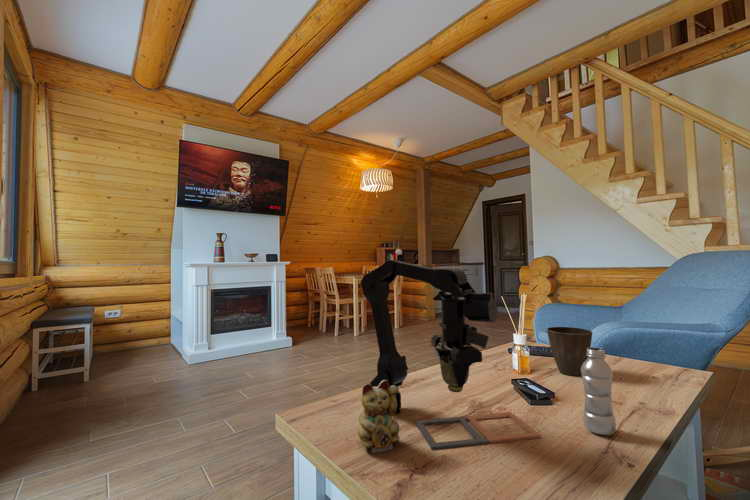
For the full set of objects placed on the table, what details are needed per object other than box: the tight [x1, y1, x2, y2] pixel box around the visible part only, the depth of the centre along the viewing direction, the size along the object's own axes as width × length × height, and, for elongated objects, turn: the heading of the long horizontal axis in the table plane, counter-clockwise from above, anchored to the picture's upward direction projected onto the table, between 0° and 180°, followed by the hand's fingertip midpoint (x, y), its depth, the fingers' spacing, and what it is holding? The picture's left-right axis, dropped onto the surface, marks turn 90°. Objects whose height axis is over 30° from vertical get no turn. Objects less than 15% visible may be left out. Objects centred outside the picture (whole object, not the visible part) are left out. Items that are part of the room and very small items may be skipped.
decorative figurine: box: [357, 380, 401, 454], centre depth 78 cm, size 10×8×15 cm
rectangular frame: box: [415, 411, 542, 451], centre depth 84 cm, size 27×13×1 cm, turn 99°
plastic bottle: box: [581, 347, 617, 436], centre depth 83 cm, size 6×7×20 cm
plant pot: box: [546, 326, 593, 377], centre depth 127 cm, size 15×15×16 cm
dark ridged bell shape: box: [439, 355, 470, 393], centre depth 84 cm, size 8×7×8 cm
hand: (455, 382), depth 84 cm, fingers closed on dark ridged bell shape, 6 cm apart
